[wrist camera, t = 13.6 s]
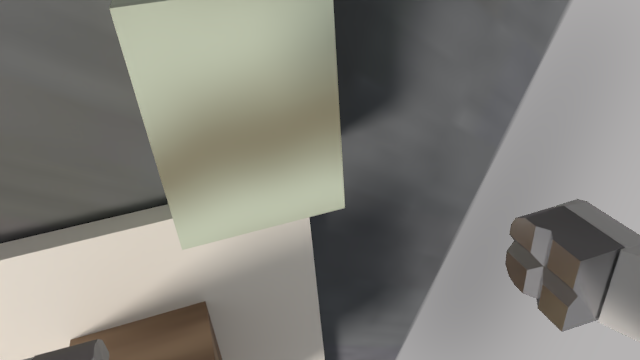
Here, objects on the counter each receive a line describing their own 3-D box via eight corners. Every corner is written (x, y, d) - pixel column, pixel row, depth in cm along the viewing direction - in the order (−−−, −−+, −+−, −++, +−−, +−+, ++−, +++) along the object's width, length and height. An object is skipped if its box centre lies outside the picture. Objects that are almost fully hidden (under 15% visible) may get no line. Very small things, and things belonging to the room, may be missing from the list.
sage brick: (117, -19, 16) (109, 8, 12) (286, -40, 17) (332, -22, 13) (173, 180, 20) (182, 250, 16) (305, 150, 21) (344, 208, 17)
